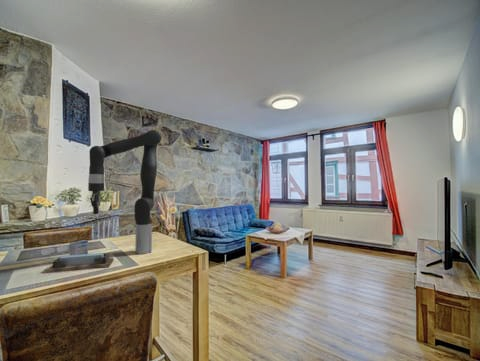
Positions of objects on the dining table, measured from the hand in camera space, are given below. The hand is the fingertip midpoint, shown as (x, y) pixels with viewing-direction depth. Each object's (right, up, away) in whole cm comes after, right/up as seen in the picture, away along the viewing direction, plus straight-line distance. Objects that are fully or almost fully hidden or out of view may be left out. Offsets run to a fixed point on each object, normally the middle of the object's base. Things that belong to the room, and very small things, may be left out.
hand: (95, 213), depth 126 cm
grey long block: (0, -23, -11) cm, 26 cm away
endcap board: (0, -25, -11) cm, 27 cm away
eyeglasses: (-28, -26, +8) cm, 39 cm away
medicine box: (-12, -25, +4) cm, 28 cm away
